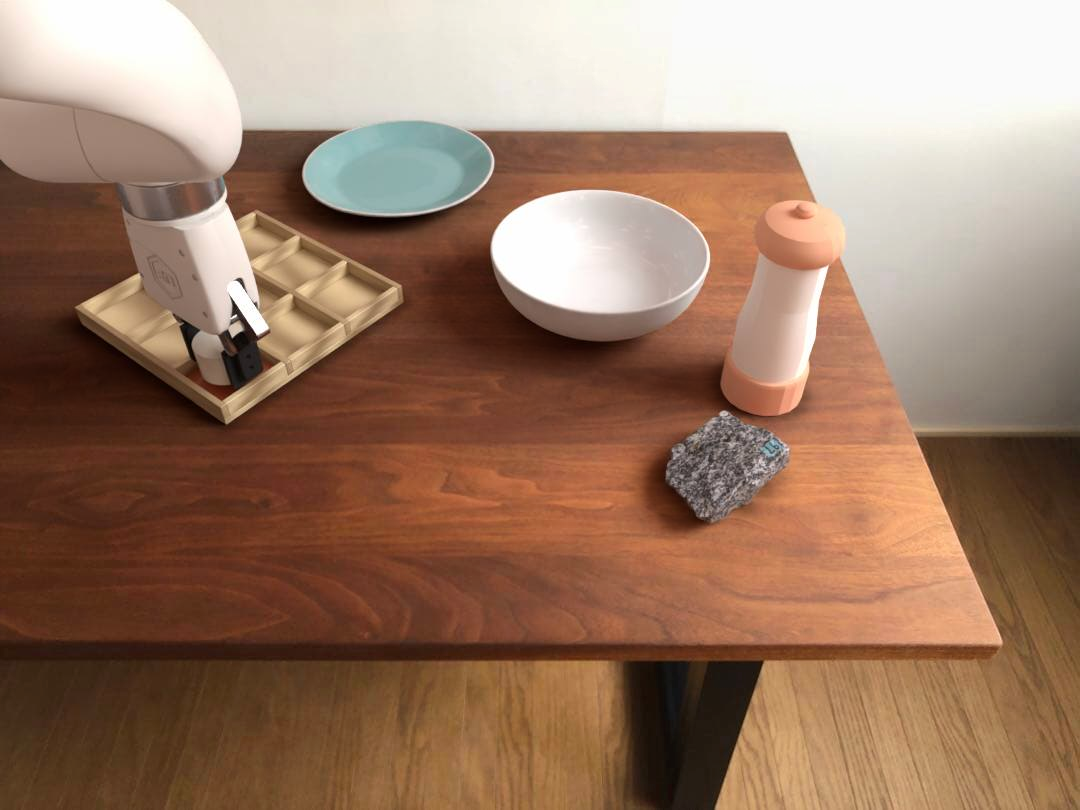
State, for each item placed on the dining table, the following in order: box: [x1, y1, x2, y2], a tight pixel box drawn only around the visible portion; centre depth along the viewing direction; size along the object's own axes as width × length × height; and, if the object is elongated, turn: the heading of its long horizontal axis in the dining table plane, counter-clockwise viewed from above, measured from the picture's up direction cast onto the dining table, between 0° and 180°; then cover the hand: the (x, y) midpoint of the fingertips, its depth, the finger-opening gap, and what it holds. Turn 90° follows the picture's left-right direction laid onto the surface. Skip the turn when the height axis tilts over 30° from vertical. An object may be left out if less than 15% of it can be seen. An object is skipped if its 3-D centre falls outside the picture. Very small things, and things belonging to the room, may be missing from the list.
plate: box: [301, 119, 495, 218], centre depth 104 cm, size 22×22×3 cm
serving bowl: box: [489, 189, 711, 342], centre depth 87 cm, size 21×21×7 cm
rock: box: [664, 409, 792, 524], centre depth 72 cm, size 8×10×4 cm
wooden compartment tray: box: [74, 209, 404, 426], centre depth 87 cm, size 22×22×2 cm
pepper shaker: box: [720, 199, 847, 417], centre depth 74 cm, size 7×7×19 cm
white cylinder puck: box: [192, 323, 243, 385], centre depth 78 cm, size 5×5×3 cm
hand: (227, 364), depth 79 cm, fingers closed on white cylinder puck, 4 cm apart
